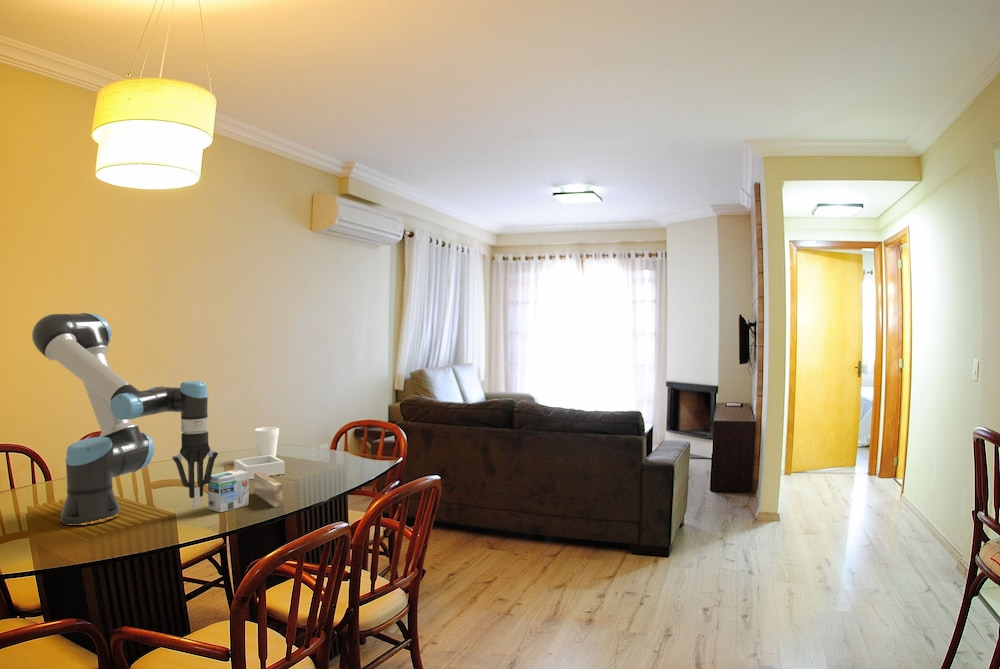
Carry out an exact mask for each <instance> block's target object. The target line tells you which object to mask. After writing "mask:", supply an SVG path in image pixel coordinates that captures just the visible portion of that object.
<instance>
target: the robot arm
mask: <svg viewBox="0 0 1000 669" xmlns="http://www.w3.org/2000/svg"><path fill="white" fill-rule="evenodd" d="M33 326H34V327H33V329H32V334H31V337H32V341H33V344H34V346H35V348H36V349H37V350H38V352H39V353H41V355H43V356H44V357H45V358H46V359H48V360H50V361H56V362H58V363H59V364H60V365H62V366H63V367H64V368H65V369H66V370H68V371H69V372H70V373H71V374H73V375H74V376H76V377H77V378H78V379H79V380H80V381H82V383H83V386H84V388H85V390H86V393H87V396H88V400H89V402H90V404H91V407H92V410H93V413H94V415H95V418H96V420H97V423H98V426H99V429H100V432H101V433H100V434H99V436H96V437H95V436H94V437H91V438H85V439H80V440H77V441H75V442H72V443H71V444H70V445H69V446H68V447H67V449H66V455H65V456H66V457H65V468H66V469H65V470H66V472H65V473H66V497H65V501H64V504H63V507H62V509H61V512H60V523H61V522H62V523H63V524H72V525H73V524H81V523H85V522H91V521H95V520H99V519H104V518H107V517H111V516H114V515H116V514H118V513H119V512H121V510H120V505H119V502H118V500H117V498H116V495H115V493H114V491H113V478H117V477H120V476H122V475H126V474H130V473H134V472H137V471H139V470H141V469H144V468H145V467H147V466H148V465H149V464H150V463H151V462H152V458H153V457H154V455H155V444H154V441H153V439H152V437H151V436H150V435H147V433H146V432H145V433H144V432H141V430H140V428H139V425H138V424H136V423H133V422H131V420H134V419H137V418H141V417H146V416H147V417H148V416H151V415H152V416H153V415H156V414H161V413H168V412H169V413H171V412H173V413H174V412H175V413H176V412H177V413H180V427H181V428H180V430H181V432H182V433H181V440H180V441H181V447H180V450H179V453H177V455H172V457H171V459H172V461H174V463H175V465H176V468H177V471H178V474H179V479H180V480H181V481H180V482H181V484H182V485H183V487H184V488H188V497H189V498H190V499H192V508H193V509H194V510H199V509H200V508H201V498H202V497H204V486H205V485H208V483H209V482H210V477H211V475H212V473H213V469H214V464H215V460H216V458H217V457H218V455H219V454H218V452H217V451H215V450H212V449H211V446H210V445H209V432H208V430H209V417H208V416H209V415H208V414H209V413H208V403H209V402H208V400H209V399H208V397H209V393H208V386H207V383H206V382H205V381H202V380H188V381H183V382H181V383H180V387H172V386H171V387H168V386H155V387H151V388H149V389H146V390H139V389H137V388H136V387H135V386H133V385H132V384H131V383H130V382H128V381H127V380H126V379H125V378H123V377H122V376H121V375H119V374H118V373H117V372H115V371H114V370H113V369H112V368H111V365H110V362H109V360H108V356H107V352H108V351H109V349H110V347H109V344H110V342H111V340H112V339H111V337H112V329H111V325H110V324H109V323H108V321H107V320H106V319H105V318H104V317H103V316H100V315H98V314H95V313H88V312H81V313H53V314H48V315H45V316H44V317H42V318H40V319H39V320H38V321H37V322H36V323H35V325H33ZM207 456H208V460H207V464H206V469H205V470H204V460H205V459H206V457H207ZM182 457H183V458H184V459H185V461H186V462H187V470H188V471H187V474H188V477H187V476H186V475H187V474H186V473H185V468H184V466H183V463H182V461H183V458H182ZM195 463H196V478H197V480H196V482H197V485H196V484H195ZM204 471H205V472H204ZM187 478H188V479H187ZM63 524H62V525H63Z"/></svg>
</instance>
